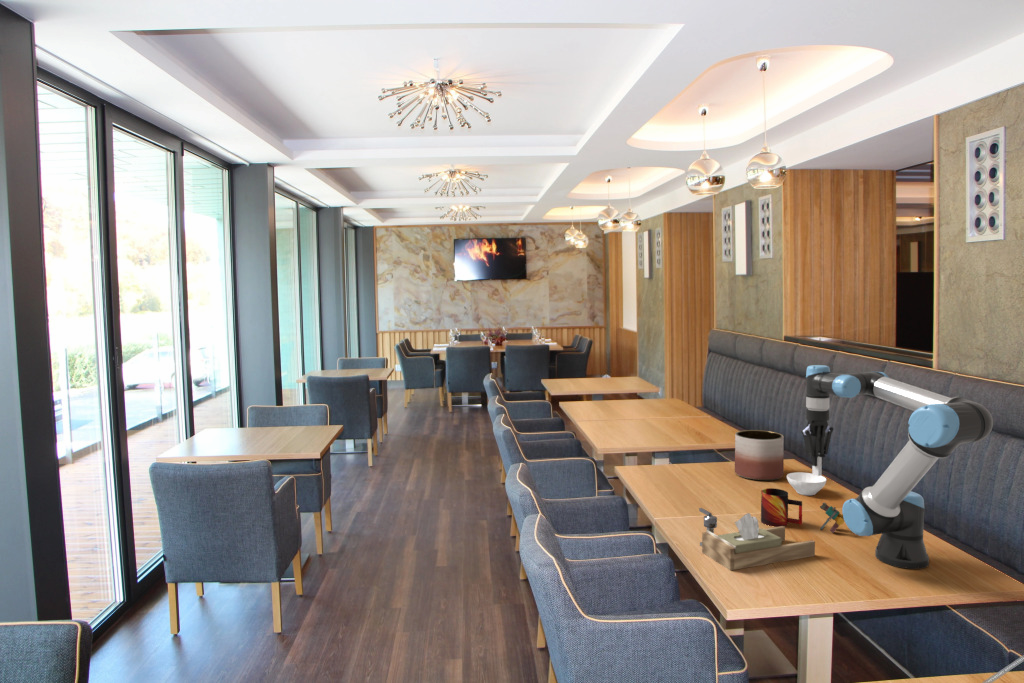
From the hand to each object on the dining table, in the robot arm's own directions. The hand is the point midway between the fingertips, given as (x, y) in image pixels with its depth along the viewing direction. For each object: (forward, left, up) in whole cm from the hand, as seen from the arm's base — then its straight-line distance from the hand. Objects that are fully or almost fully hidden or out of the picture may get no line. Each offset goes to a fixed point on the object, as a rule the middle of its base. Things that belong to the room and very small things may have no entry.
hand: (816, 474), depth 231 cm
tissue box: (-6, +33, -24) cm, 42 cm away
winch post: (+9, +39, -24) cm, 47 cm away
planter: (+74, -35, -24) cm, 85 cm away
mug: (+18, 0, -24) cm, 30 cm away
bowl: (+44, -36, -24) cm, 62 cm away
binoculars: (+4, -12, -24) cm, 27 cm away
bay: (-4, +27, -24) cm, 36 cm away
